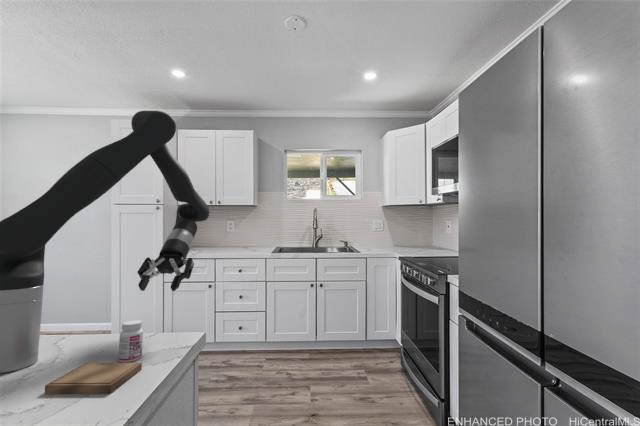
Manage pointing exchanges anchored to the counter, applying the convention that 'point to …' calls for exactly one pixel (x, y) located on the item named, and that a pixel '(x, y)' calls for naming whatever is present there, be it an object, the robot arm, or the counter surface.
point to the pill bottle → (130, 341)
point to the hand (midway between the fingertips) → (157, 289)
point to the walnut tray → (94, 378)
